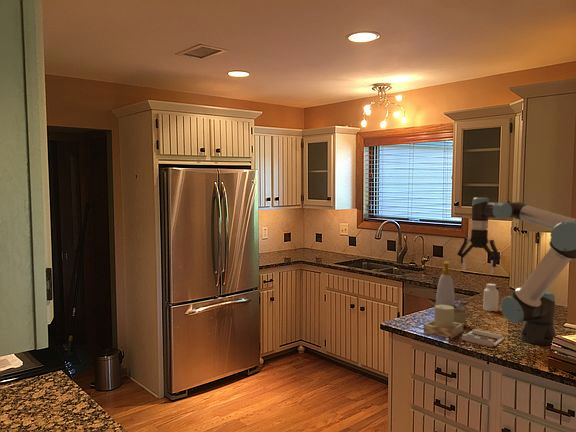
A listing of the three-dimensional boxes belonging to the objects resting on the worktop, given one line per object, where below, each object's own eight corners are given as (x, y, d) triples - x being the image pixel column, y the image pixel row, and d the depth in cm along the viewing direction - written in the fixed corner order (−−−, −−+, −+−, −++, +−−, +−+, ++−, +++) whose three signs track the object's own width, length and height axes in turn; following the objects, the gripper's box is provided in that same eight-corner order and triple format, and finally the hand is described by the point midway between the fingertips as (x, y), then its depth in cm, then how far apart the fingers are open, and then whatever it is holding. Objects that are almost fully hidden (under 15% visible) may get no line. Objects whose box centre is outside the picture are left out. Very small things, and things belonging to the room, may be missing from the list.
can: (429, 329, 232) (430, 305, 231) (440, 326, 238) (440, 302, 237) (447, 334, 225) (448, 309, 224) (457, 330, 231) (458, 306, 231)
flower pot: (462, 321, 250) (462, 308, 249) (470, 327, 240) (470, 313, 239) (443, 321, 250) (444, 308, 249) (450, 327, 240) (451, 313, 239)
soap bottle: (456, 304, 286) (457, 261, 285) (454, 308, 276) (455, 264, 274) (436, 302, 291) (438, 259, 289) (433, 306, 281) (435, 262, 279)
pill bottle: (479, 309, 276) (480, 283, 275) (489, 307, 279) (490, 282, 278) (491, 312, 269) (492, 286, 268) (501, 311, 272) (502, 285, 271)
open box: (463, 331, 233) (463, 323, 232) (451, 338, 222) (452, 330, 222) (435, 325, 242) (435, 318, 241) (423, 332, 231) (423, 324, 231)
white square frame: (504, 339, 222) (504, 332, 221) (494, 347, 210) (494, 340, 210) (470, 332, 232) (471, 325, 231) (459, 339, 220) (459, 332, 220)
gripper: (508, 230, 229) (506, 274, 230) (457, 226, 245) (455, 267, 247) (503, 231, 223) (502, 276, 225) (451, 227, 239) (450, 269, 241)
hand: (477, 271), depth 236 cm, fingers open, 13 cm apart
